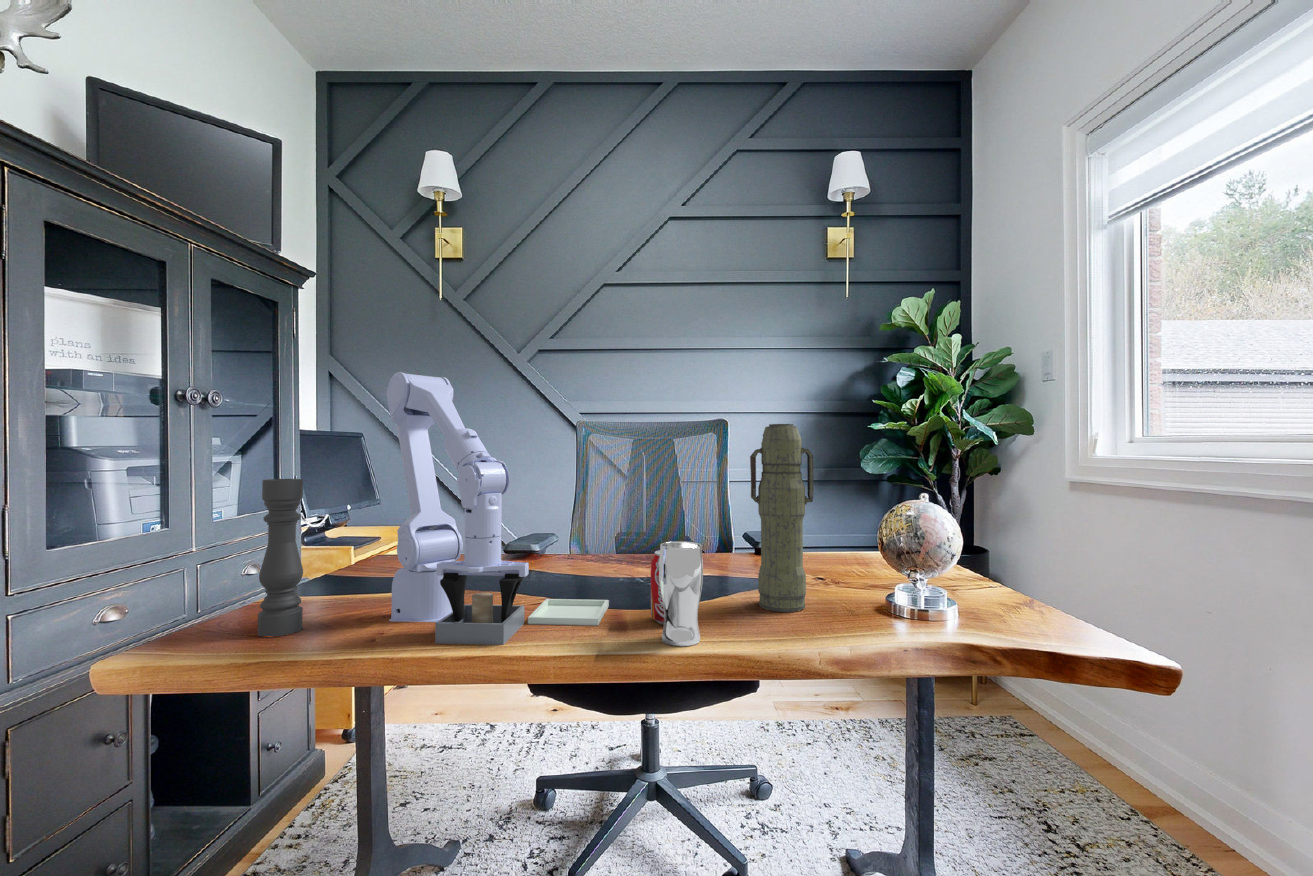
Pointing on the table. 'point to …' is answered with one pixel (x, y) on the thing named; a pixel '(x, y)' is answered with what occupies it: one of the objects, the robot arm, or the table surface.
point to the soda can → (656, 591)
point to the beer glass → (680, 591)
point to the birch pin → (482, 608)
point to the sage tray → (569, 612)
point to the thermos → (781, 517)
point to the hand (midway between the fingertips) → (482, 620)
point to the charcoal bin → (479, 627)
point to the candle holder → (281, 559)
